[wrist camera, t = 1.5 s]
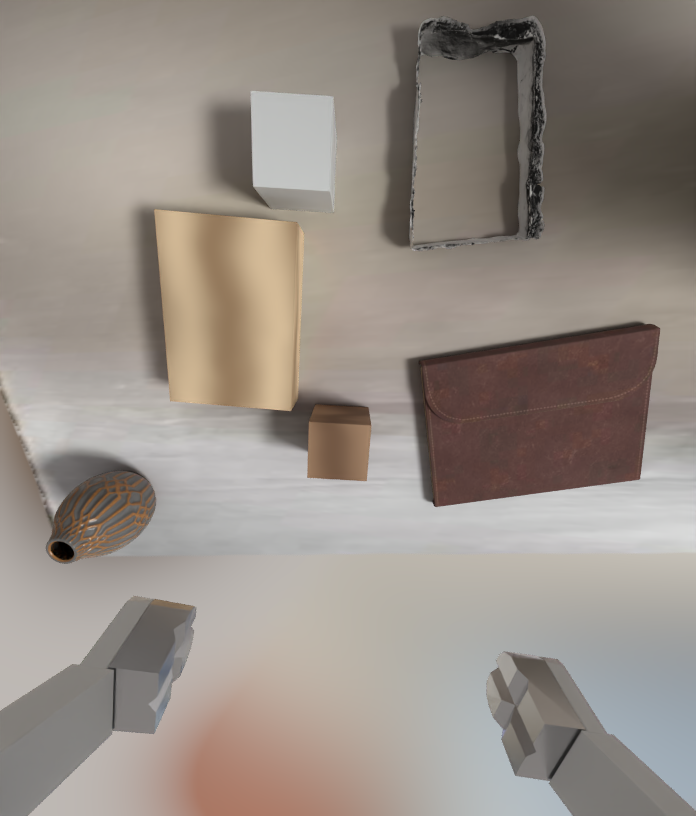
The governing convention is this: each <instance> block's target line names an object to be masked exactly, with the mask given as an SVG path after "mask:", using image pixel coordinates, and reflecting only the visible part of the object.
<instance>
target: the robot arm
mask: <svg viewBox="0 0 696 816" xmlns="http://www.w3.org/2000/svg"><path fill="white" fill-rule="evenodd" d="M195 617H196V607H195V606H190V605H185V604H179V603H173V602H168V601H163V600H157V599H150V598H145V597H138V596H133V597H132V598H131V599H130V600H128V601H127V602H126V603H125V605H124V606H123V607H122V609H121V610H120V611H119V613H118V614H117V615H116V617H115V618H114V620H113V621H112V622H111V623H110V625H109V626H108V628H107V629H106V630H105V632H104V633H103V634H102V636H101V637H100V638H99V640H98V641H97V642H96V644H95V645H94V647H93V648H92V649H91V650H90V652H89V653H88V654H87V656H86V657H85V658H84V660H83V661H82V663H81V664H80V665H76V664H72V665H70V666H69V667H67V668H66V669H64V670H63V671H61V672H60V673H58V674H56V675H55V676H53V677H52V678H50V679H49V680H47V681H46V682H44V683H43V684H41V685H40V686H38V687H36V688H35V689H33V690H32V691H30V692H29V693H27V694H25V695H24V696H22V697H21V698H19V699H18V700H16V701H15V702H13V703H11V704H10V705H9V706H7V707H5V708H4V709H2V710H1V711H0V816H28V815H29V814H30V813H31V812H32V811H33V810H34V809H35V808H36V807H37V806H38V805H39V804H40V803H41V802H42V801H43V800H44V799H45V798H46V797H47V796H49V795H50V793H52V792H53V791H54V790H55V789H56V788H57V787H58V786H59V785H60V784H61V783H62V782H63V781H64V780H65V779H66V778H67V777H68V776H69V775H70V774H71V773H72V772H73V771H74V770H75V769H76V768H77V767H78V766H79V765H80V764H81V763H83V762H84V761H85V760H86V759H87V758H88V757H89V756H90V755H91V754H92V753H93V752H94V751H95V750H96V749H97V748H98V747H99V746H100V745H101V744H102V743H103V742H104V741H105V740H106V739H107V738H108V737H109V736H110V735H111V734H112V731H124V732H136V733H149V734H154V733H155V731H156V729H157V727H158V724H159V722H160V720H161V718H162V715H163V713H164V711H165V709H166V707H167V704H168V702H169V700H170V696H171V687H172V683H173V682H174V681H175V680H176V679H177V678H179V677H180V675H181V673H182V670H183V668H184V666H185V663H186V661H187V658H188V655H189V651H190V649H191V645H192V640H193V635H194V630H193V628H192V627H191V626H192V624H193V621H194V619H195ZM496 662H497V665H498V668H497V669H495V670H494V671H492V672H491V673H490V675H489V678H488V680H487V689H486V692H487V693H486V695H487V699H488V704H489V707H490V710H491V713H492V716H493V718H494V719H495V720H496V721H497V723H498V724H499V725H500V726H501V727H502V728H503V732H502V742H503V745H504V747H505V750H506V753H507V755H508V758H509V761H510V763H511V766H512V769H513V771H514V774H515V776H521V777H527V778H533V779H540V780H547V781H550V783H549V784H550V785H551V787H552V788H553V790H554V791H555V792H556V794H557V795H558V796H559V798H560V799H561V800H562V802H563V803H564V804H565V806H566V807H567V808H568V810H569V811H570V812H571V814H572V815H573V816H696V811H695V810H694V809H693V808H692V807H691V806H690V805H689V804H688V803H687V802H686V801H685V800H683V799H682V798H681V797H680V796H679V795H678V794H677V793H676V792H675V791H674V790H673V789H672V788H670V787H669V786H668V785H667V784H666V783H665V782H664V781H663V780H662V779H661V778H660V777H659V776H657V775H656V774H655V773H654V772H653V771H652V770H651V769H650V768H649V767H648V766H647V765H646V764H644V763H643V762H642V761H641V760H640V759H639V758H638V757H637V756H636V755H635V754H634V753H633V752H631V751H630V750H629V749H628V748H627V747H626V746H625V745H624V744H623V743H622V742H620V740H618V739H617V738H616V737H615V736H614V735H612V734H607V732H606V731H605V729H604V728H603V726H602V724H601V723H600V721H599V720H598V718H597V717H596V715H595V713H594V712H593V710H592V709H591V707H590V706H589V704H588V702H587V701H586V699H585V698H584V696H583V695H582V693H581V691H580V690H579V688H578V687H577V686H576V684H575V682H574V680H573V679H572V677H571V676H570V674H569V673H568V671H567V670H566V668H565V666H564V665H563V664H562V663H561V662H560V661H559V660H558V659H552V658H545V657H538V656H535V655H527V654H519V653H512V652H502V653H500V654H499V656H498V658H497V660H496Z"/></svg>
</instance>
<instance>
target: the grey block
mask: <svg viewBox="0 0 696 816" xmlns="http://www.w3.org/2000/svg"><path fill="white" fill-rule="evenodd" d="M251 127H252V168H253V187H254V188H255V190H256V191H257V192H258V193H259V195H260V196H261V197H262V198H263V200H264V201H265V202H266V203H267V204H268V206H269V207H270V208H271V209H281V210H296V211H312V212H328V213H334V196H335V171H336V146H337V134H336V122H335V111H334V99H333V96H323V95H308V94H293V93H277V92H262V91H251Z"/></svg>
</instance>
